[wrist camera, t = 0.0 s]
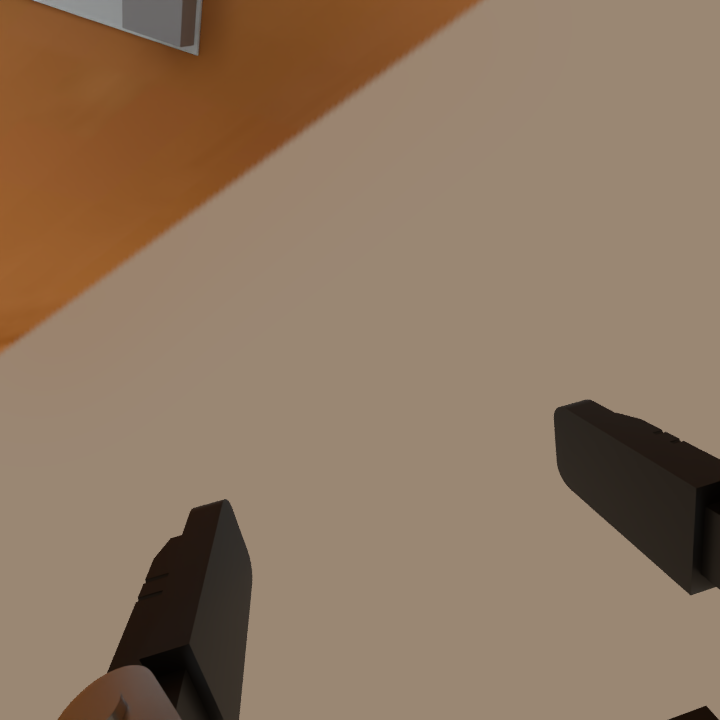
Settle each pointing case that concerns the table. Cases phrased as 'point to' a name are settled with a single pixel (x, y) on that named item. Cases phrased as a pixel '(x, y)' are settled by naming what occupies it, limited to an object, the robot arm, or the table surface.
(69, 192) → the table surface
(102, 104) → the table surface
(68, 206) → the table surface
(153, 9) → the board with wall
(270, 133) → the table surface
